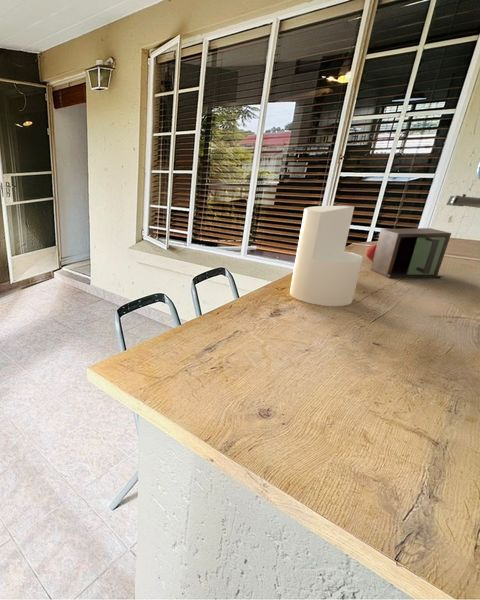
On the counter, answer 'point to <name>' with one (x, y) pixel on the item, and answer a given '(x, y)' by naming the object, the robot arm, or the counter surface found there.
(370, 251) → the onion
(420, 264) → the door
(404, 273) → the cabinet
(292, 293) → the cream stepped cylinder
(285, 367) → the counter surface
